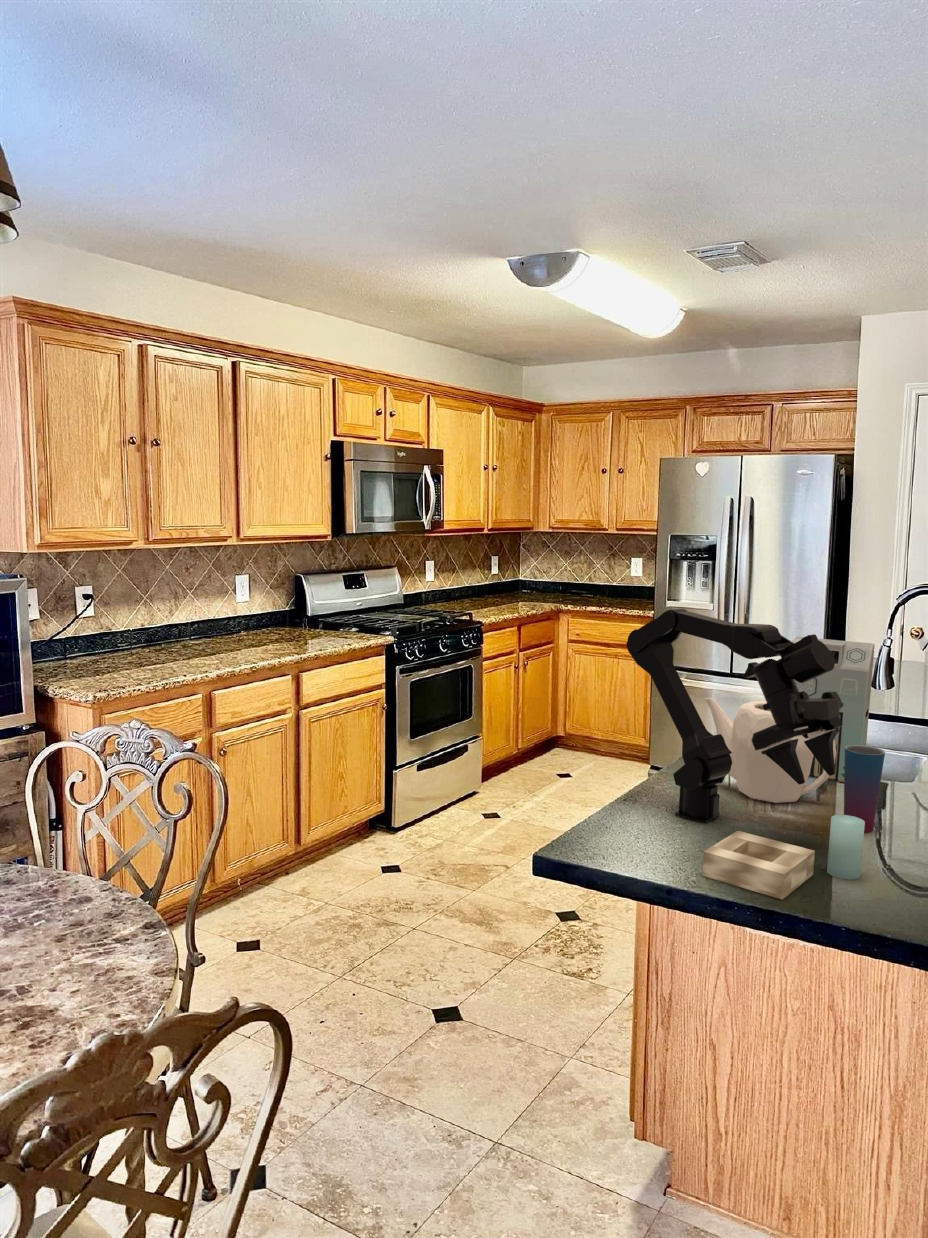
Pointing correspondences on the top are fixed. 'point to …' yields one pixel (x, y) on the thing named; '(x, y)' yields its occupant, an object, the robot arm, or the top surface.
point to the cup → (862, 782)
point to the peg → (845, 847)
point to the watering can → (761, 755)
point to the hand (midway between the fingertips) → (817, 779)
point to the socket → (758, 864)
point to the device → (845, 696)
